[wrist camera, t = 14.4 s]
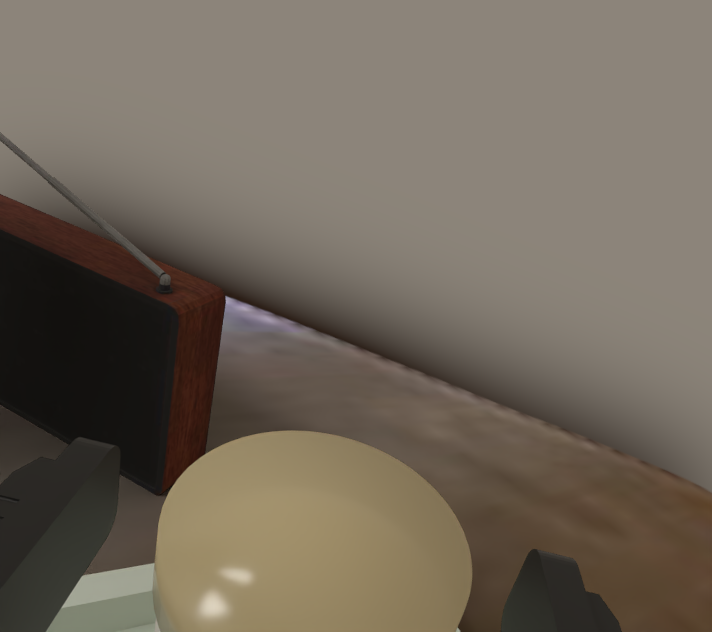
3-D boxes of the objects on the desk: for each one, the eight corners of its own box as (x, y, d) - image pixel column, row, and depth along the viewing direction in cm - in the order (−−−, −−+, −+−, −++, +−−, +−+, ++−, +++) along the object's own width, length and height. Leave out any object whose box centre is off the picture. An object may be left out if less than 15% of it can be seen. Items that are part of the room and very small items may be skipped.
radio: (208, 461, 27) (257, 117, 21) (160, 499, 24) (200, 117, 18) (-66, 313, 33) (-92, 10, 26) (-128, 331, 30) (-174, -1, 24)
